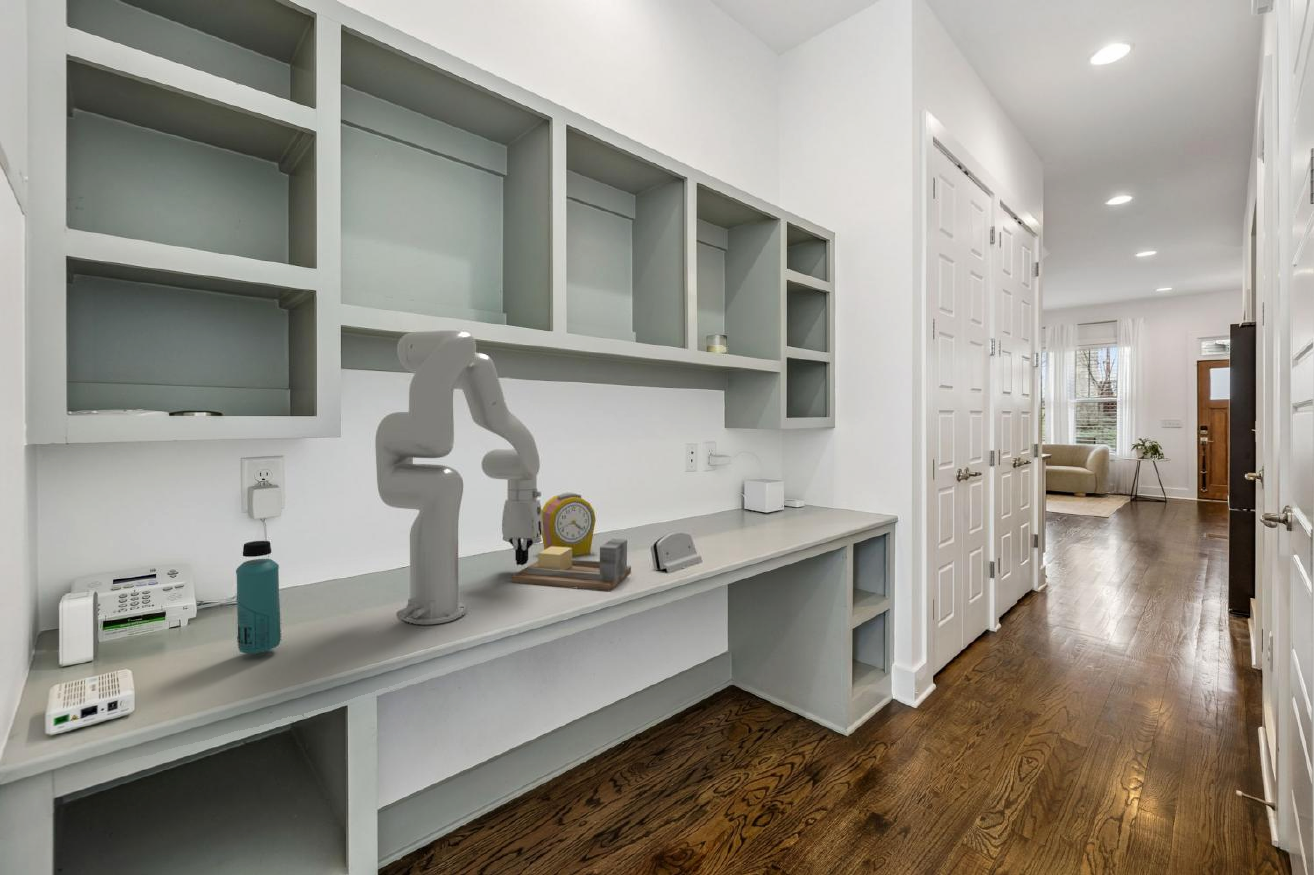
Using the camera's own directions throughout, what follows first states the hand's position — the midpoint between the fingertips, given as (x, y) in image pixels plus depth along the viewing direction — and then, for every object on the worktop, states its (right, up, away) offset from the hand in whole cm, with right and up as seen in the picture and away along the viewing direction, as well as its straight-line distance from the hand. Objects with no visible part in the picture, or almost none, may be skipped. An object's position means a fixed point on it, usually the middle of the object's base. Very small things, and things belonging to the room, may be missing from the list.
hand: (521, 563), depth 159 cm
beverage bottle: (-34, -5, -54) cm, 64 cm away
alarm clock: (+9, -2, +22) cm, 23 cm away
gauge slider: (+10, -1, 0) cm, 10 cm away
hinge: (+41, -3, +10) cm, 42 cm away
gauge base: (+14, -3, -3) cm, 15 cm away
